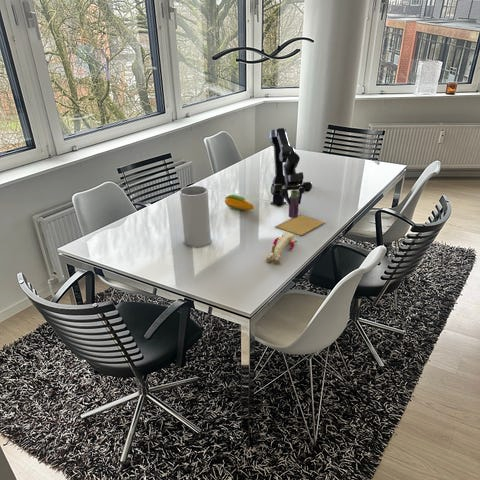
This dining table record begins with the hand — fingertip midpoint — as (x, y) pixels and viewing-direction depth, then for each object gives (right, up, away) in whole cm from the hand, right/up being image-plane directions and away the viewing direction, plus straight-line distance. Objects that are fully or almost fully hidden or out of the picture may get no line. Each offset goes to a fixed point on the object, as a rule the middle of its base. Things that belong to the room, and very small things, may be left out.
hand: (294, 204), depth 220 cm
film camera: (+7, +28, +62) cm, 68 cm away
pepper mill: (0, -5, +5) cm, 7 cm away
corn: (-26, +5, +30) cm, 41 cm away
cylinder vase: (-47, -19, -2) cm, 50 cm away
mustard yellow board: (+4, -8, +11) cm, 14 cm away
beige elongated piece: (-7, -25, -12) cm, 28 cm away
